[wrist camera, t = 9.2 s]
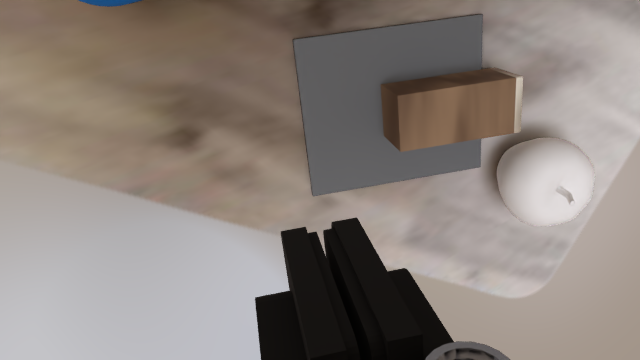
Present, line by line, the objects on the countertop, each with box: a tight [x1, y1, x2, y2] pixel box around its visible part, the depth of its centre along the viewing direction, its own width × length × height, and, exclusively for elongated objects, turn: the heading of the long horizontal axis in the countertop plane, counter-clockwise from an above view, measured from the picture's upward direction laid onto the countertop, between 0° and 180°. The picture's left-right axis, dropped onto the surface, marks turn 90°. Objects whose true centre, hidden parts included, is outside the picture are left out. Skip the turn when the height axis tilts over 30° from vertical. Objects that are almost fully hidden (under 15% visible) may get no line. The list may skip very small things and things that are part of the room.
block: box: [381, 67, 523, 152], centre depth 37 cm, size 4×4×9 cm
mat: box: [293, 14, 483, 196], centre depth 38 cm, size 14×12×1 cm
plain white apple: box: [497, 138, 595, 227], centre depth 39 cm, size 7×7×8 cm
